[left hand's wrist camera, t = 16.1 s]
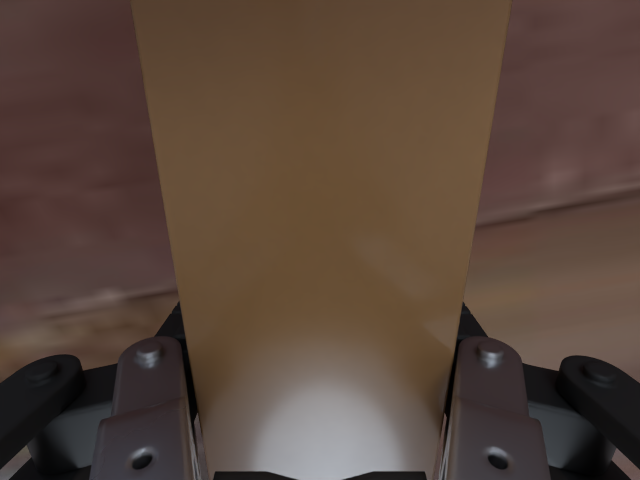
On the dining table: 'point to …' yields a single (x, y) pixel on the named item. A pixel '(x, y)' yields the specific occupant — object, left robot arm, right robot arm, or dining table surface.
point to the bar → (321, 216)
